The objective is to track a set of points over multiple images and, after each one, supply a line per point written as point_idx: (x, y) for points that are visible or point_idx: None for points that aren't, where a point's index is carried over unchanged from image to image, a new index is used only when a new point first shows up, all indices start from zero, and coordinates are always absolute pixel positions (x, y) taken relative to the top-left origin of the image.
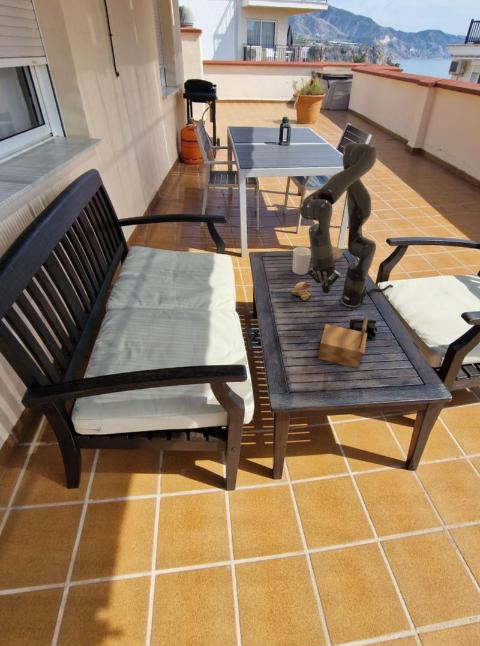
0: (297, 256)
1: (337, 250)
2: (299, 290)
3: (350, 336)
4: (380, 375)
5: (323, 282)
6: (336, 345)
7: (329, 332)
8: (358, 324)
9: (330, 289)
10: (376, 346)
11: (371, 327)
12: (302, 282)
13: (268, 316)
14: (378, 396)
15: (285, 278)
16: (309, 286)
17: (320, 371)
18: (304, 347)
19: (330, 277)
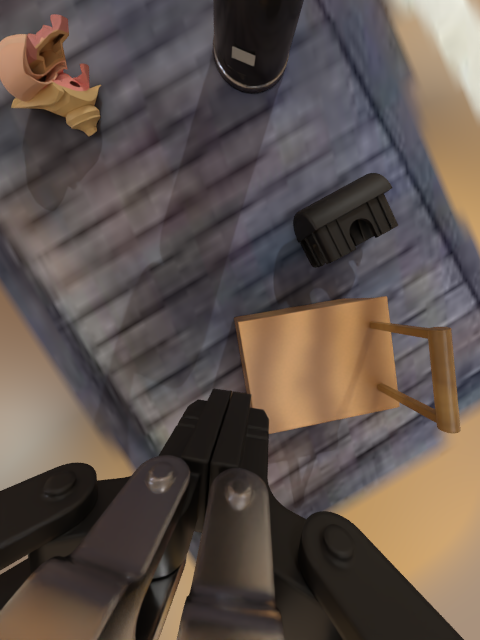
0: None
1: None
2: (38, 96)
3: (339, 347)
4: (408, 378)
5: (170, 599)
6: (309, 421)
7: (266, 365)
8: (336, 237)
9: (268, 428)
10: (379, 266)
11: (382, 233)
12: (10, 44)
13: (24, 296)
14: (415, 448)
15: None
16: (63, 40)
17: (271, 446)
18: (198, 381)
19: (277, 610)
